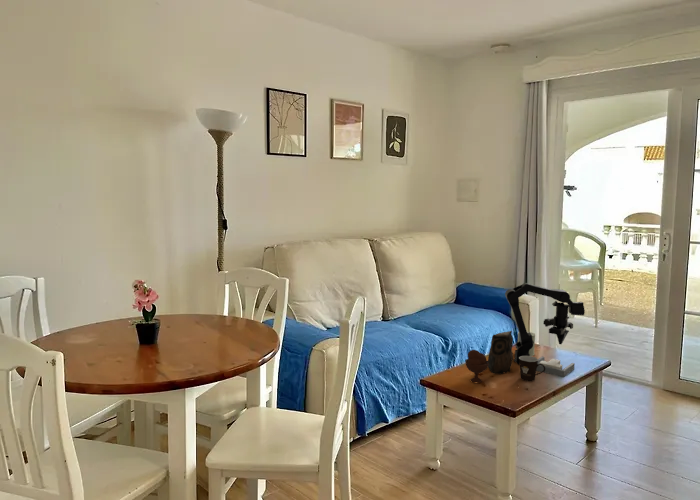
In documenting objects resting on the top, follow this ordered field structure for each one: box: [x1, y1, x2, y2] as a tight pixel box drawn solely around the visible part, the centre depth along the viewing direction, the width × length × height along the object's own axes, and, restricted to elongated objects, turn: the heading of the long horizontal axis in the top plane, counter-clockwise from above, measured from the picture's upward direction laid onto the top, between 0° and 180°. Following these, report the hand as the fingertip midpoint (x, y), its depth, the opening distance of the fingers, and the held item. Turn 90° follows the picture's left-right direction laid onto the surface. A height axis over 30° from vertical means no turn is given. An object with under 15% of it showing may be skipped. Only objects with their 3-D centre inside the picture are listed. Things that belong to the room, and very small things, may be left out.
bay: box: [536, 356, 576, 378], centre depth 257 cm, size 15×16×3 cm
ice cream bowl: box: [464, 349, 489, 383], centre depth 240 cm, size 11×11×15 cm
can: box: [517, 331, 536, 357], centre depth 281 cm, size 9×9×12 cm
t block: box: [539, 358, 563, 370], centre depth 256 cm, size 10×10×4 cm
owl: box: [487, 330, 514, 375], centre depth 254 cm, size 13×13×20 cm
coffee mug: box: [518, 356, 545, 382], centre depth 242 cm, size 12×9×10 cm
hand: (560, 344), depth 263 cm, fingers closed
